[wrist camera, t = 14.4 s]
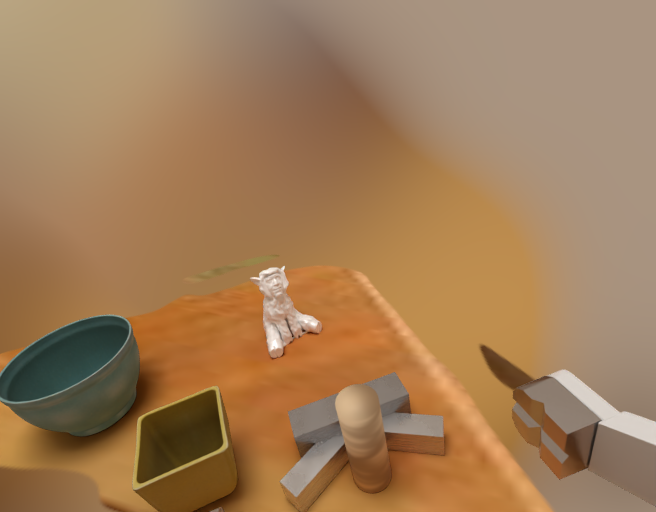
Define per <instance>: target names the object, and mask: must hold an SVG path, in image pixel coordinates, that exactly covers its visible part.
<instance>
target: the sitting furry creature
mask: <svg viewBox="0 0 656 512" xmlns="http://www.w3.org/2000/svg"><path fill="white" fill-rule="evenodd" d="M284 268H285V266H283V267H282V268H281V269H279V268H269V269H268V270H264V271H262V272H261V273H260V274H259V278H256V277H253V278H250V280H251V281H252V282H253V283H255V284H256V285H258V286H259V289H260V292H261V293H262V294H263V295H265V299H264V300H263V304H264V305H263V308H264V310H263V311H264V316H263V323H264V328H265V332H266V338H267V344H268V350H269V354H270V356H271V357H272V358H277V357H280V356H281V355H282V354H283V347H285V346H286V345H287V344H289V343H290V341H291V342H292V341H293V339H294V338H298V335H299V336H300V337H302V335H304V334H306V333H307V332H313V333H318V334H319V333H320V332H321V329H322V324H321V322H319V321H317V319H315V318H314V317H313V316H308V315H303V314H301V313H300V312H298V311H297V310H296V309H295V308H294V307H293V302H292V301H291V298H290V297H289V296H288V294H287V293H286V289H287V287H288V285H289V282H288V281H287V279H286V277H285V272H284ZM303 330H305V332H303V333H302V331H303ZM290 331H291V332H292V334H293V335H294V337H292V334H291V332H290Z"/></svg>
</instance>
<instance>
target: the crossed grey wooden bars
mask: <svg viewBox="0 0 656 512" xmlns="http://www.w3.org/2000/svg"><path fill="white" fill-rule="evenodd" d="M363 385H367V386H369V387H371V388H373V389H374V390H375V391H376V393H377V395H378V398H379V403H380V409H381V415H382V420H383V426H384V432H385V438H386V443H387V449H388V450H396V451H406V452H416V453H426V454H435V455H445V451H444V424H443V416H434V415H420V414H411V409H410V401H409V394H408V392H407V391H406V389H405V387H404V386H403V384H402V383H401V381H400V379H399V378H398V376H397V375H396V373H395V372H394V373H391V374H389V375H386V376H383V377H381V378H378V379H375V380H372V381H370V382H367V383H364V384H363ZM338 394H339V393H337V394H335V395H332V396H329V397H327V398H324V399H321V400H318V401H316V402H313V403H310V404H308V405H305V406H302V407H300V408H297V409H294V410H291V411H289V412H288V414H289V418H290V422H291V426H292V430H293V434H294V438H295V441H296V444H297V447H298V450H299V452H300V455H301V459H300V460H299V461H298V463H297V464H296V465H295V466H294V467H293V468H292V469H291V470H290V471H289V472H288V473H287V474H286V475H285V476H284V477H283V478H282V479H281V481H280V484H281V486H282V488H283V491H284V493H285V496H286V498H287V499H288V500H289V501H290V502H291V503H292V504H293V505H294V506H295V507H296V508H297V509H298V510H299V511H300V512H306V511H307V509H308V508H309V507H310V506H311V505H312V504H313V502H314V501H315V500H316V499H317V498H318V496H319V495H320V494H321V493H322V492H323V491H324V489H325V488H326V487H327V486H328V485H329V483H330V482H331V481H332V480H333V479H334V478H335V476H336V475H337V474H338V473H339V472H340V470H341V469H342V468H343V467H344V466H345V465H346V463H347V462H348V461H349V458H348V454H347V450H346V446H345V442H344V439H343V435H342V431H341V427H340V423H339V419H338V415H337V411H336V407H335V401H336V397H337V395H338Z"/></svg>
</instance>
